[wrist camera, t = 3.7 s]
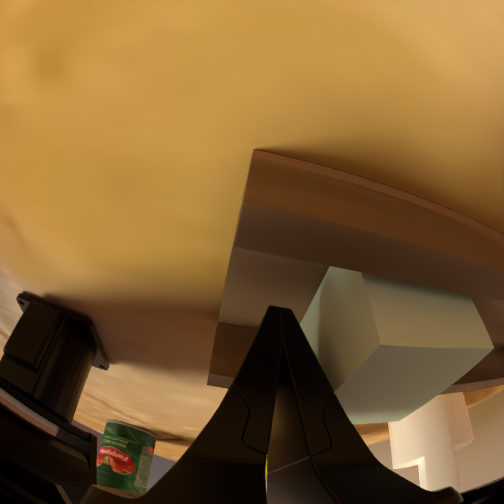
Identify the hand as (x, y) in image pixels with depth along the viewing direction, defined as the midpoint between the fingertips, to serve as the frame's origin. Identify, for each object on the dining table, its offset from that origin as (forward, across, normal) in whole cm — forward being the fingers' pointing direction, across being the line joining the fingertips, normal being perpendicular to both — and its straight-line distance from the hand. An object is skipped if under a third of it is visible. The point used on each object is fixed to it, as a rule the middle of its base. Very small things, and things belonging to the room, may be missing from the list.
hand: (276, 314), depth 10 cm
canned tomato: (+3, +12, +37) cm, 39 cm away
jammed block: (+2, -4, 0) cm, 4 cm away
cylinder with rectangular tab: (+3, -21, +16) cm, 27 cm away
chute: (+3, -9, 0) cm, 10 cm away
